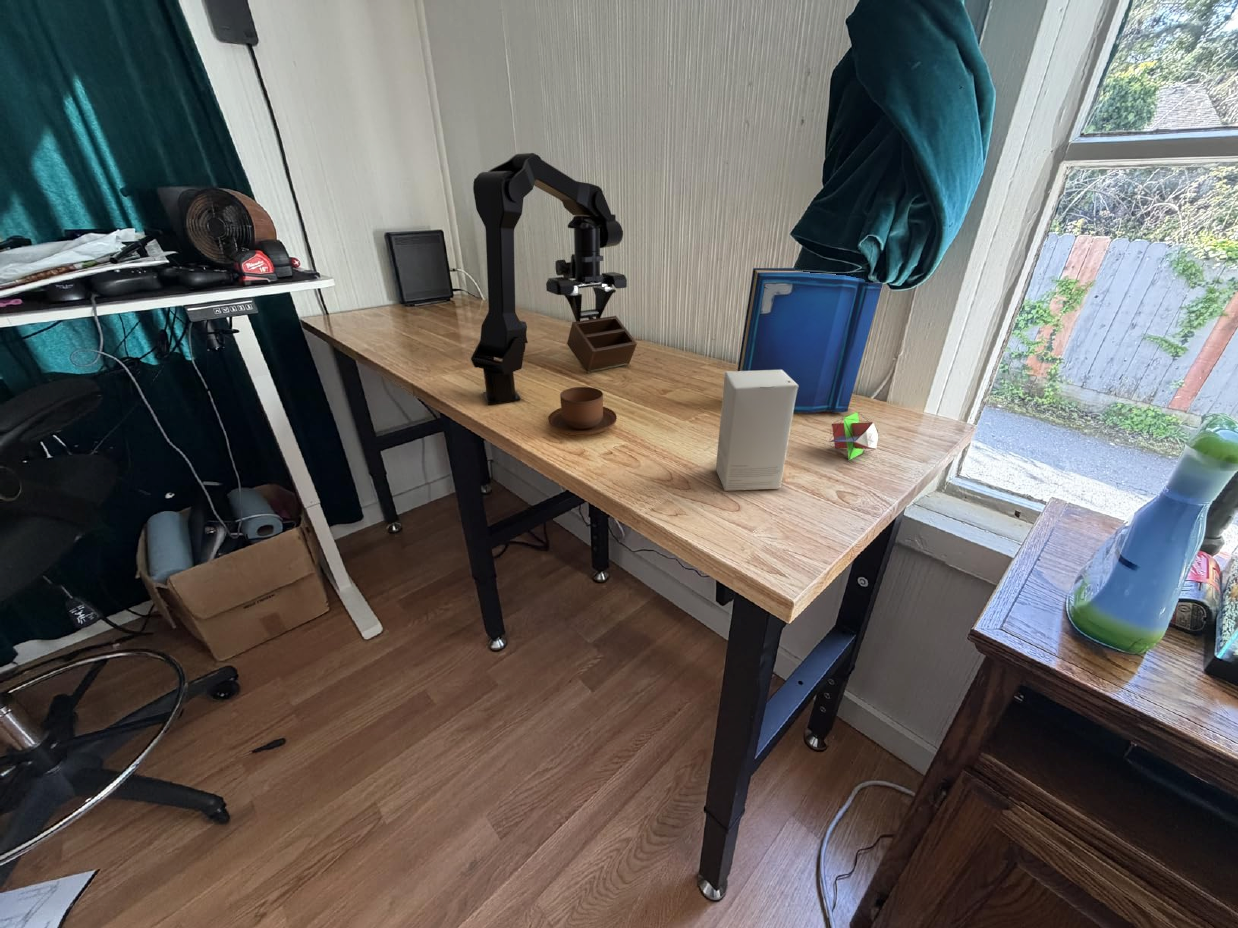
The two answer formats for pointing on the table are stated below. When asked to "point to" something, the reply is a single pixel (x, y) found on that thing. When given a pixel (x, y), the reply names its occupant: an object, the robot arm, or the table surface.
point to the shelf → (600, 342)
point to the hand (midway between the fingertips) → (588, 321)
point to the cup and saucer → (582, 412)
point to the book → (809, 332)
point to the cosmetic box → (754, 428)
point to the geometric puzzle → (854, 435)
